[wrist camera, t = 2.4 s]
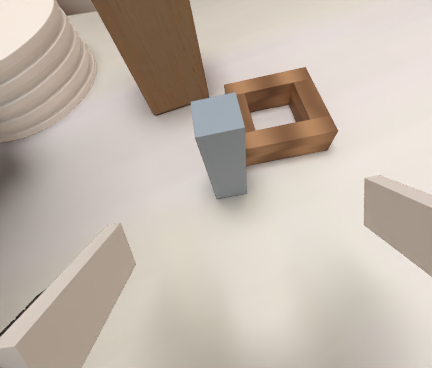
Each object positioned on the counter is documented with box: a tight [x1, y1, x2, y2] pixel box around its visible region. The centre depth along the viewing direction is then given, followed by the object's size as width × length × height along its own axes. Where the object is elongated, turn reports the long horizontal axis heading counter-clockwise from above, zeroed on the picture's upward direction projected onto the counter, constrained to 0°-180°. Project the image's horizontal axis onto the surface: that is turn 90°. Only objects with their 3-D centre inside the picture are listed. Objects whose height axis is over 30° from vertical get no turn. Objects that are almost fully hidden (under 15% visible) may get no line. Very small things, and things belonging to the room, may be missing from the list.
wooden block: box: [91, 0, 209, 115], centre depth 30 cm, size 10×10×20 cm
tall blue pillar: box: [191, 92, 247, 199], centre depth 24 cm, size 4×4×13 cm
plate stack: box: [0, 0, 97, 142], centre depth 41 cm, size 28×28×12 cm
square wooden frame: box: [224, 67, 338, 166], centre depth 31 cm, size 12×12×4 cm
